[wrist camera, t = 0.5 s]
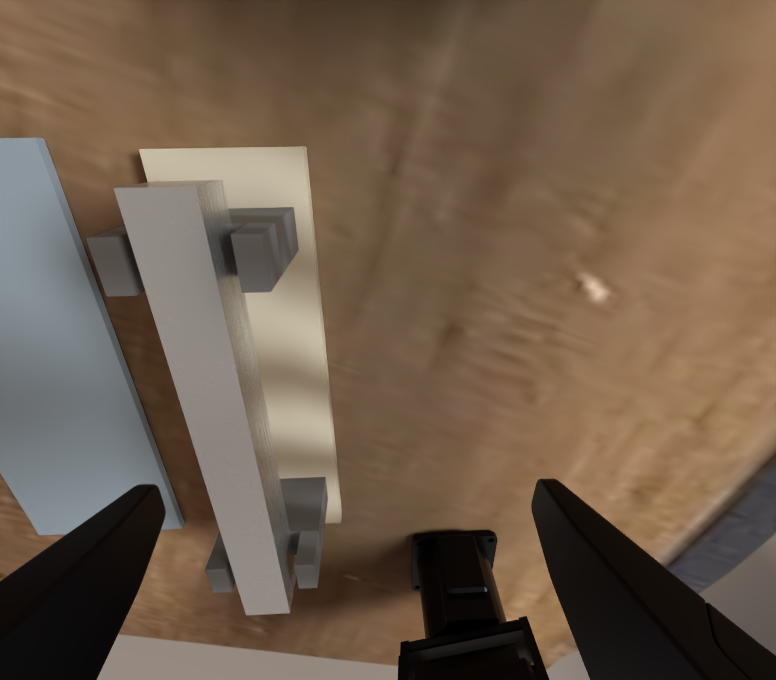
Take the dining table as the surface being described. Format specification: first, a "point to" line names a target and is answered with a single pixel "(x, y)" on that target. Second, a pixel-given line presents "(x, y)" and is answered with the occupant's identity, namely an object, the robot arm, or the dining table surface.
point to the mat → (62, 362)
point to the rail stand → (264, 323)
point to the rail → (215, 374)
